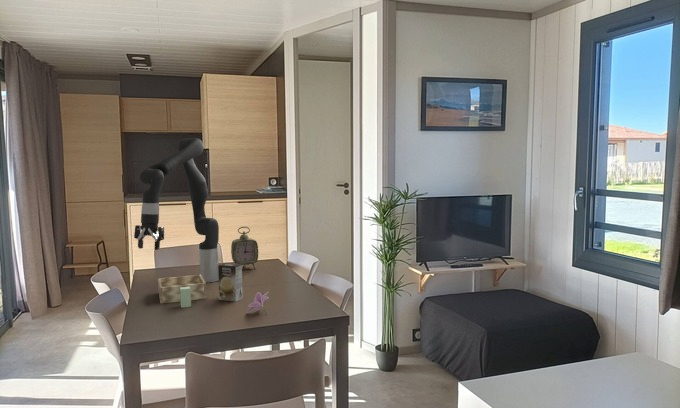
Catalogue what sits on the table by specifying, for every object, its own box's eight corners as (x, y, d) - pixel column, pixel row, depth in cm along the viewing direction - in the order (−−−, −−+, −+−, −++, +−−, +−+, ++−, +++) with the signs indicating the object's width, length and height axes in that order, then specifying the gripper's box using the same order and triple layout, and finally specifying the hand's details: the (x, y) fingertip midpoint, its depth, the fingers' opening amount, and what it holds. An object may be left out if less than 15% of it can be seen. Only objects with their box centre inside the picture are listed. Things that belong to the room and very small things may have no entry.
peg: (190, 304, 223) (189, 286, 223) (191, 306, 220) (190, 288, 219) (180, 305, 222) (179, 287, 221) (181, 307, 218) (180, 289, 218)
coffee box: (218, 300, 230) (217, 265, 228) (226, 296, 236) (224, 262, 234) (236, 301, 226) (235, 266, 225) (243, 298, 233) (242, 263, 231)
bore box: (201, 288, 251) (200, 274, 251) (206, 298, 233) (206, 283, 232) (158, 293, 244) (157, 278, 243) (160, 303, 225) (159, 287, 225)
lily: (274, 310, 215) (263, 290, 216) (281, 306, 205) (271, 285, 206) (249, 324, 209) (238, 303, 211) (255, 320, 199) (244, 298, 200)
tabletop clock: (233, 271, 290) (232, 228, 288) (231, 268, 298) (229, 226, 296) (258, 269, 295) (257, 226, 293) (255, 266, 303) (254, 225, 301)
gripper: (168, 213, 231) (167, 249, 231) (142, 212, 236) (140, 247, 236) (158, 213, 224) (156, 250, 224) (131, 212, 228) (129, 248, 228)
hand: (148, 249), depth 230 cm, fingers open, 8 cm apart
